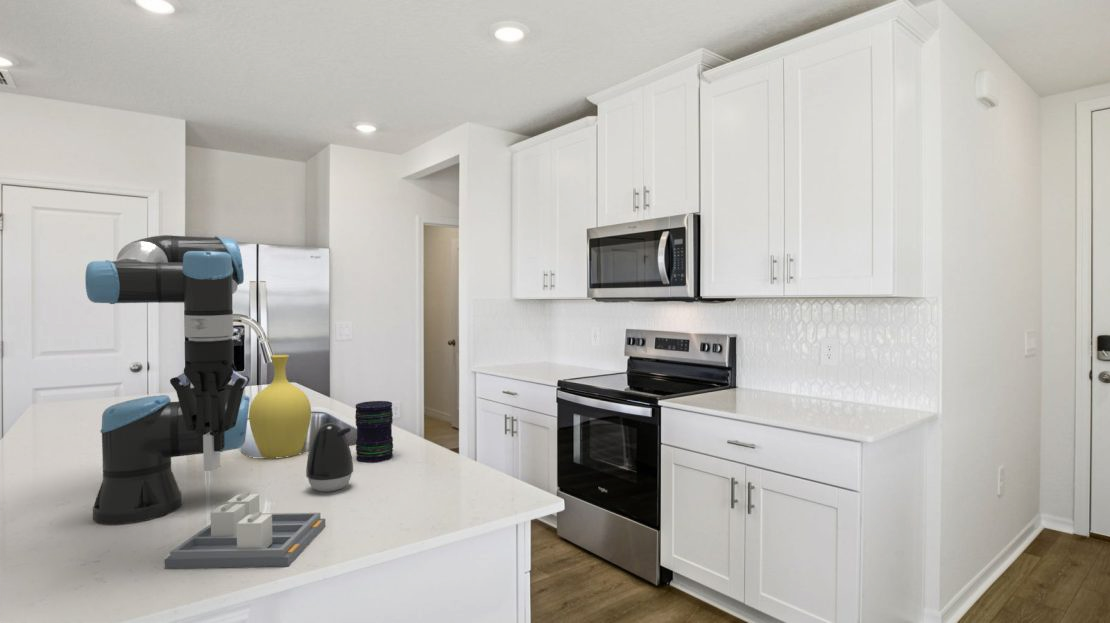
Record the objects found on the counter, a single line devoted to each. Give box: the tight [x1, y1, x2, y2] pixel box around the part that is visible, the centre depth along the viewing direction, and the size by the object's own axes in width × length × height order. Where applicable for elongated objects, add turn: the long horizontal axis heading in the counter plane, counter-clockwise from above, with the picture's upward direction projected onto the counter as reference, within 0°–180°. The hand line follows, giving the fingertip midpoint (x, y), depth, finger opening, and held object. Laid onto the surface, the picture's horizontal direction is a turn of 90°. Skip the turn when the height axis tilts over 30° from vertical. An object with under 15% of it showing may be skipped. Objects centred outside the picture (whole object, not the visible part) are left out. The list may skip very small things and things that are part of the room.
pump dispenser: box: [305, 422, 354, 493], centre depth 137 cm, size 10×10×15 cm
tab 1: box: [210, 502, 245, 537], centre depth 105 cm, size 4×4×6 cm
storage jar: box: [354, 400, 394, 464], centre depth 163 cm, size 10×10×15 cm
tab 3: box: [237, 511, 272, 549], centre depth 100 cm, size 4×4×6 cm
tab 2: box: [226, 491, 261, 517], centre depth 111 cm, size 4×4×6 cm
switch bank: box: [163, 512, 326, 569], centre depth 106 cm, size 20×17×3 cm
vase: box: [248, 354, 312, 459], centre depth 168 cm, size 16×16×28 cm
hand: (212, 468), depth 107 cm, fingers closed
